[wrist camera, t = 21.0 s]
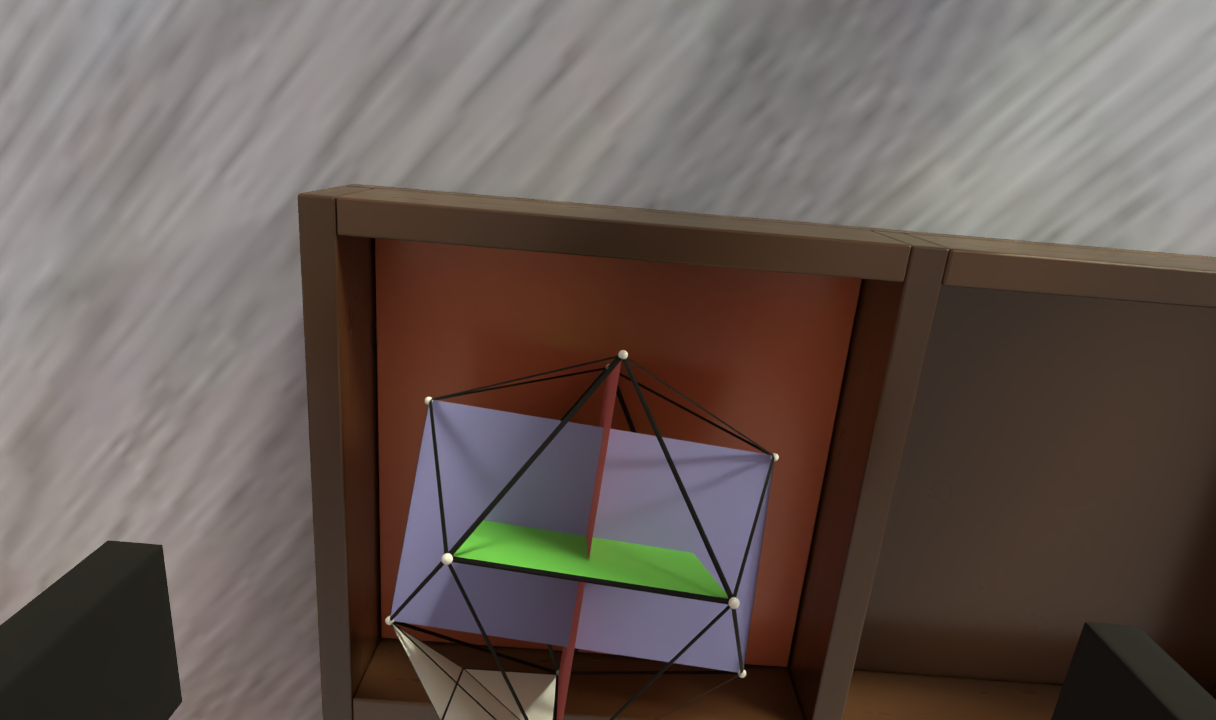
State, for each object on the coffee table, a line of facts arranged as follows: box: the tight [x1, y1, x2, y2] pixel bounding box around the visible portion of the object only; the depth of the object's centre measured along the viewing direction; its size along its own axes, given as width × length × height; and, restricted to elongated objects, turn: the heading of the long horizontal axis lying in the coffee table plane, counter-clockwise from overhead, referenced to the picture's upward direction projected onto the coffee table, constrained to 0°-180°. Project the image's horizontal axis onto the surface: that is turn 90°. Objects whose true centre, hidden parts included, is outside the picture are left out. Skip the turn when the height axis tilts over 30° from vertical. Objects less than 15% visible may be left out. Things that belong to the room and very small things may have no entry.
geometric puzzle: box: [385, 350, 779, 720], centre depth 13 cm, size 7×7×8 cm
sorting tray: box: [298, 184, 1216, 720], centre depth 18 cm, size 23×23×3 cm
